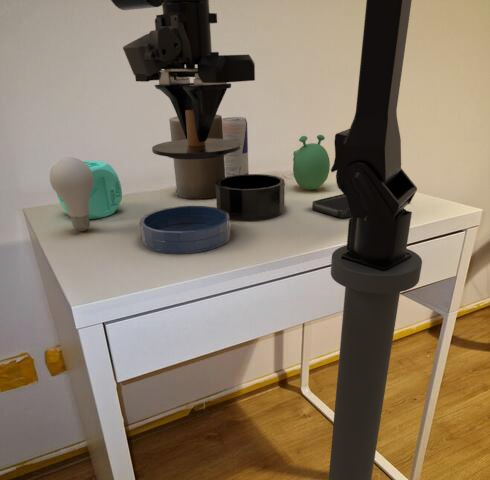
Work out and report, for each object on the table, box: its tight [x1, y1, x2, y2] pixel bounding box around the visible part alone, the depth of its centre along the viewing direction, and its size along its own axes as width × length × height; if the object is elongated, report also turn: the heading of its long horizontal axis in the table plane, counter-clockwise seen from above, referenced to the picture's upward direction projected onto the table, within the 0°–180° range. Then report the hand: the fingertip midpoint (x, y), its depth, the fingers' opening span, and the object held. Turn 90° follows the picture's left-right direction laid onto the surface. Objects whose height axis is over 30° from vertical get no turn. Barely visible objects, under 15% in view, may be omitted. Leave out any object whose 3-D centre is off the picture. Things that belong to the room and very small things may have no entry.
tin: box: [215, 173, 286, 222], centre depth 79 cm, size 11×11×5 cm
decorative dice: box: [56, 160, 123, 220], centre depth 79 cm, size 8×8×8 cm
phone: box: [311, 193, 352, 219], centre depth 80 cm, size 8×1×15 cm
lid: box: [151, 109, 241, 159], centre depth 64 cm, size 12×12×6 cm
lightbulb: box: [49, 156, 94, 232], centre depth 70 cm, size 6×6×11 cm
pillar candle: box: [168, 114, 225, 200], centre depth 87 cm, size 10×10×15 cm
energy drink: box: [222, 116, 250, 177], centre depth 98 cm, size 5×5×12 cm
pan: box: [139, 205, 232, 255], centre depth 68 cm, size 13×13×3 cm
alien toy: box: [292, 134, 331, 191], centre depth 89 cm, size 7×8×10 cm
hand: (196, 140), depth 65 cm, fingers closed on lid, 2 cm apart
